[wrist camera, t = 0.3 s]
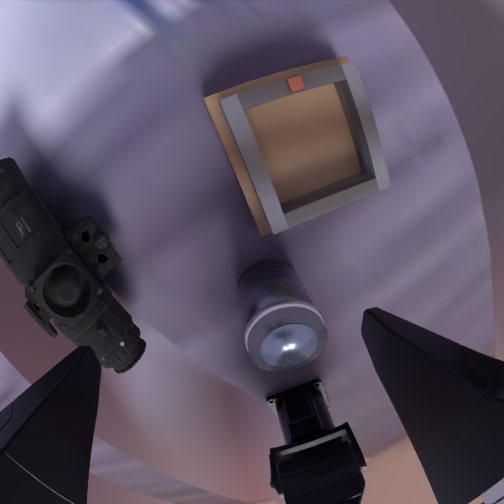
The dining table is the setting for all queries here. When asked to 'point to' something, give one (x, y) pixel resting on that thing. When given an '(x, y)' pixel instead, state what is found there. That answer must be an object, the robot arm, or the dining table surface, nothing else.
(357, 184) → the mount
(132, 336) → the night vision scope
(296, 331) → the lens
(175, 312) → the dining table surface
